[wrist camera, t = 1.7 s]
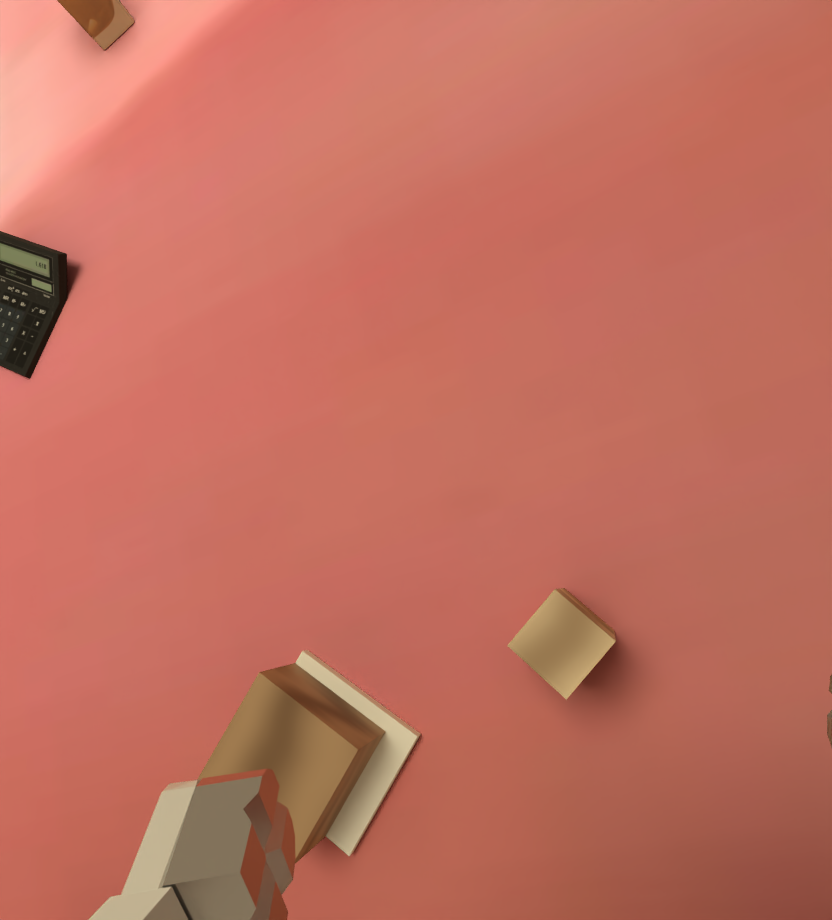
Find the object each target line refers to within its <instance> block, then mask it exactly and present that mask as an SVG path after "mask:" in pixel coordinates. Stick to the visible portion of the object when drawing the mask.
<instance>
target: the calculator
mask: <svg viewBox="0 0 832 920" xmlns="http://www.w3.org/2000/svg"><path fill="white" fill-rule="evenodd" d="M66 300H67V254H65V253H62V252H59V251H57V250H54V249H51V248H48V247H45V246H42V245H39V244H36V243H33V242H30V241H27V240H25V239H22V238H19V237H16V236H13V235H10V234H7V233H4V232H1V231H0V366H3V367H5V368H7V369H9V370H12V371H14V372H16V373H18V374H20V375H23V376H25V377H28V378H31V375H32V373H33V371H34V369H35V367H36V365H37V362H38V360H39V358H40V356H41V354H42V352H43V350H44V347H45V345H46V343H47V341H48V339H49V337H50V335H51V332H52V330H53V328H54V326H55V324H56V322H57V319H58V317H59V315H60V313H61V311H62V309H63V307H64V304H65V302H66Z"/></svg>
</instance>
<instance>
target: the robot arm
mask: <svg viewBox="0 0 832 920" xmlns="http://www.w3.org/2000/svg"><path fill="white" fill-rule="evenodd" d="M829 691H830V692H831V693H832V675H831V676H830V686H829ZM827 734H828V738H829V741H830V744H831V747H832V710H831V711H830V713H829V714H828V715H827ZM279 787H280V786H279V783H278V781H277V779H276V776H275V774H274V772H273V770H271V769H261V770H254V771H248V772H241V773H234V774H227V775H220V776H214V777H207V778H202V779H198V780H191V781H184V782H178V783H171V784H169V785H168V786H167V787H166V788H165V789H164V790H163V792H162V793H161V795H160V797H159V800H158V802H157V805H156V807H155V810H154V812H153V815H152V817H151V820H150V822H149V825H148V827H147V830H146V833H145V835H144V838H143V840H142V843H141V845H140V848H139V850H138V853H137V855H136V858H135V860H134V863H133V865H132V868H131V870H130V873H129V875H128V878H127V881H126V883H125V886H124V888H123V891H122V893H121V895H117V896H112V897H110V898H109V899H108V900H107V901H106V902H105V903H104V904H103V905H102V906H101V907H100V908H99V909H98V910H97V911H96V912H95V913H94V914H93V915H92V916H91V917H90V919H89V920H287V916H288V910H287V908H286V905H285V903H284V900H283V898H282V894H283V892H284V891H285V889H286V888H287V887H288V885H289V884H290V883H291V881H292V880H293V875H294V867H295V859H296V856H295V833H294V827H293V822H292V818H291V815H290V813H289V810H288V808H287V807H286V806H284V805H283V804H281V803H279V802H278V801H277V798H278V792H279Z"/></svg>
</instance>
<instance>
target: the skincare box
mask: <svg viewBox="0 0 832 920" xmlns="http://www.w3.org/2000/svg"><path fill="white" fill-rule="evenodd" d="M57 1H58V2H59V3H60V4H61V5H62V6H63V7H64V8H65V9H66V10H67V11H68V12H69V13H70V14H71V15H72V16H73V18H74V19H75V20H76V21H77V22H78V23H79V24H80V25H81V26H82V27H83V28H84V29H85V31H86V32H87V33H88V34H89V35H90V36H91V37H92V38H93V39H94V40H95V41H96V42H97V43H98V44H99V45H100V46H101V48H102V49H103V50H105V49H106V48H108V47H109V46H110V45H111V44H112V43H113V42H114V41H115V40H116V39H117V38H118V37H119V36H120V35H122V34H123V33H124V32H125V31H126V30H127V29H128V28H129V27H130V26H131V25H132V24H133V23H134V20H133V18H132V17H131V15H130V14H129V13H128V11H127V10H126V9H125V7H124V6H123V5H122V3H121V2H120V1H119V0H57Z"/></svg>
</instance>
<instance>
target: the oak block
mask: <svg viewBox="0 0 832 920" xmlns="http://www.w3.org/2000/svg"><path fill="white" fill-rule="evenodd" d="M615 642H616V639H615V632H614V630H613V629H612V628H611V627H610V626H608V625H607V624H606V623H605V622H604V621H602V620H601V619H600V618H599V617H598V616H597V615H595V614H594V613H593V612H592V611H591V610H589V609H588V608H587V607H586V606H585V605H584V604H582V603H581V602H580V601H579V600H578V599H576V598H575V597H574V596H573V595H572V594H571V593H569V592H568V591H567V590H566V589H565V588H561V589H555V590H554V591H553V592H552V593H551V594H550V596H549V597H548V598H547V599H546V600H545V602H544V603H543V604H542V605H541V606H540V607H539V609H538V610H537V611H536V612H535V613H534V615H533V616H532V617H531V618H530V619H529V621H528V622H527V623H526V624H525V625H524V627H523V628H522V629H521V630H520V631H519V632H518V634H517V635H516V636H515V637H514V638H513V640H512V641H511V642H510V643H509V644H508V647H510V648H511V649H512V650H513V651H514V652H515V653H516V654H517V655H518V656H519V657H520V658H522V659H523V660H524V661H525V662H526V663H527V664H528V665H529V666H530V667H531V668H532V669H534V670H535V671H536V672H537V673H538V674H539V675H540V676H541V677H542V678H543V679H544V680H546V681H547V682H548V683H549V684H550V685H551V686H552V687H553V688H554V689H555V690H556V691H557V692H559V693H560V694H561V695H562V696H563V697H564V698H565V699H567V698H568V697H569V696H570V695H571V694H572V692H573V691H574V690H575V689H576V688H577V686H578V685H579V684H580V683H581V682H582V681H583V679H584V678H585V677H586V676H587V675H588V674H589V672H590V671H591V670H592V669H593V668H594V666H595V665H596V664H597V663H598V662H599V661H600V659H601V658H602V657H603V656H604V655H605V653H606V652H607V651H608V650H609V649H610V648H611V646H612V645H613V644H614V643H615Z"/></svg>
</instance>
